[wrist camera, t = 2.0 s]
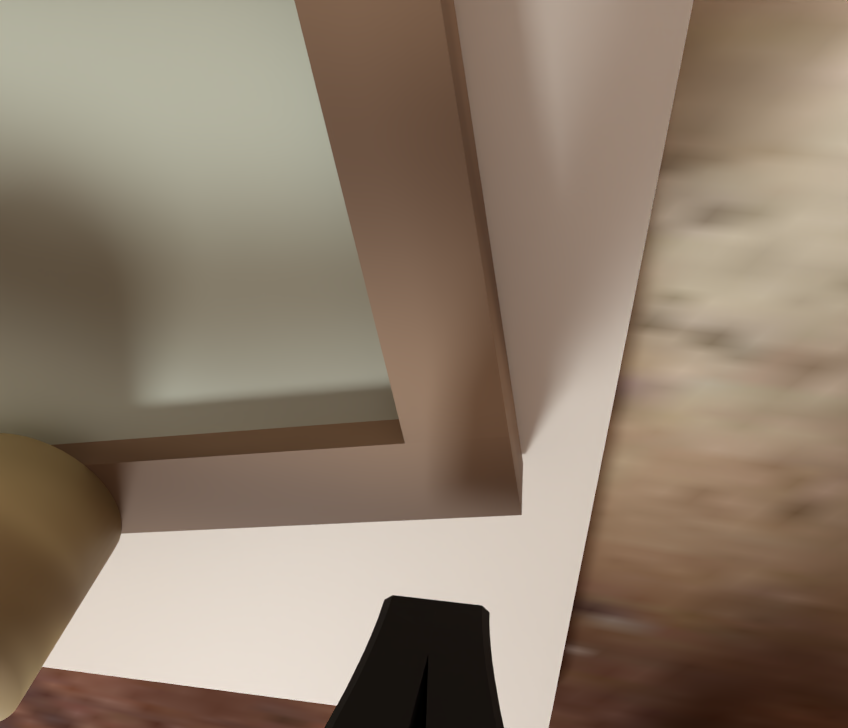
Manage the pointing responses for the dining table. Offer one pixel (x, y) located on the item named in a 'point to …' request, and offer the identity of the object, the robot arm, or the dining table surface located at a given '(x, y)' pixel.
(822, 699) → the dining table surface
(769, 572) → the dining table surface
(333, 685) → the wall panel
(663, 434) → the dining table surface
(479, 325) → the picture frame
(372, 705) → the robot arm
